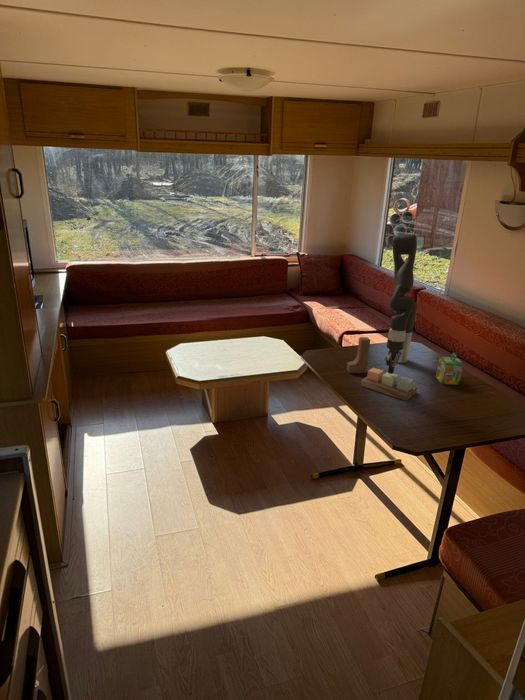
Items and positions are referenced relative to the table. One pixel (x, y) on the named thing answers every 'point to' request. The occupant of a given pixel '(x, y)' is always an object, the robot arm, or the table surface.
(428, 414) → the table surface
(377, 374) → the terracotta key
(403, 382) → the slate key
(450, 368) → the chalk box
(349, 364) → the wooden block
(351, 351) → the table surface
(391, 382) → the sage key
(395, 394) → the wooden tray
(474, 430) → the table surface
